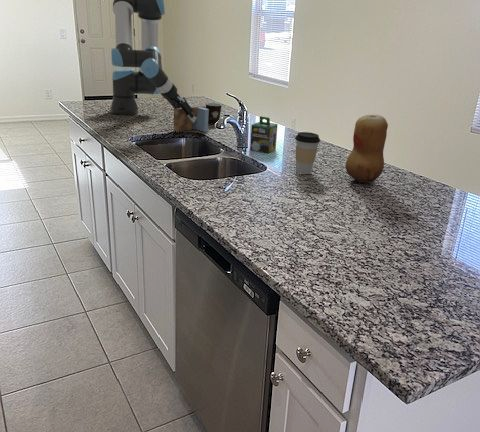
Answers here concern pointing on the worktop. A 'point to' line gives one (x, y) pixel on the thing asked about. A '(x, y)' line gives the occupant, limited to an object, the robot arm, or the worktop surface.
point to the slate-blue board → (201, 119)
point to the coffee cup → (306, 151)
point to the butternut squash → (367, 148)
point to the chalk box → (263, 136)
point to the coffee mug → (213, 112)
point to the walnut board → (184, 119)
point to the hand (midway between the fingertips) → (192, 119)
